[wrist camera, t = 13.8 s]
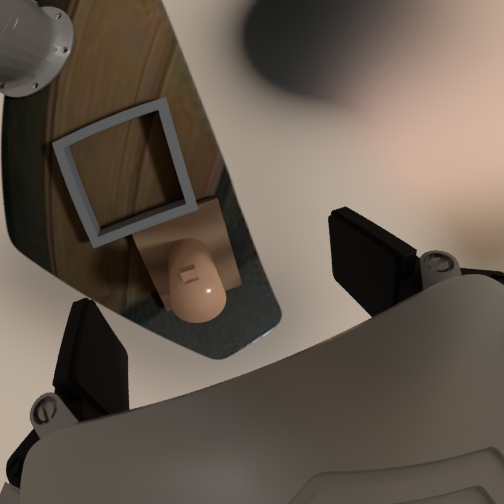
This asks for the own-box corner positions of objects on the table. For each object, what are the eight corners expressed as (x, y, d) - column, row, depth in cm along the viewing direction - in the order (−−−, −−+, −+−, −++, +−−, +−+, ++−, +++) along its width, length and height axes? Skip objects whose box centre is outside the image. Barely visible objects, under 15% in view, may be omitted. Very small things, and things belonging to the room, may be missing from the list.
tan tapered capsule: (202, 225, 38) (216, 261, 30) (218, 281, 43) (235, 325, 34) (158, 239, 37) (159, 279, 29) (179, 293, 42) (187, 340, 33)
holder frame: (58, 141, 28) (52, 143, 26) (165, 98, 31) (165, 96, 28) (96, 240, 36) (93, 248, 33) (195, 203, 38) (198, 209, 36)
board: (130, 225, 36) (129, 229, 35) (215, 195, 38) (217, 198, 37) (166, 306, 43) (167, 311, 42) (239, 280, 45) (242, 284, 44)
